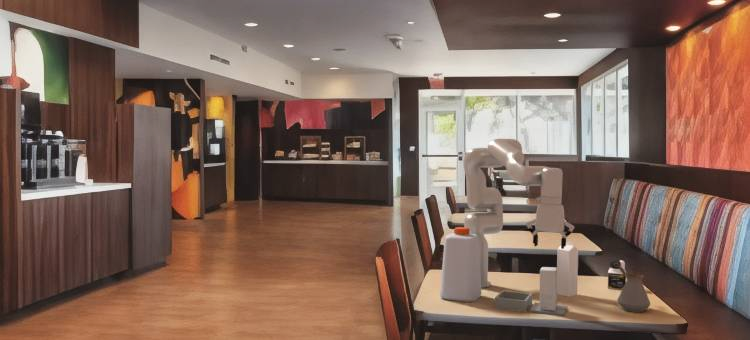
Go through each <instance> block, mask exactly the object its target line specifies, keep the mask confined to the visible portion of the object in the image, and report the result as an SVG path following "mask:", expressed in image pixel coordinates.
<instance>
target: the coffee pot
mask: <svg viewBox="0 0 750 340" xmlns="http://www.w3.org/2000/svg"><path fill="white" fill-rule="evenodd" d="M615 264H617V265H618V266H615V267H619V269H620V271H621V272H622V273H623V274H624V276H625V277H626V283H625V285H624V287H623V289H622V290H620V291H621V292H619V293H620V294H619V295H618V297H617V304H618V305H619V306H620V307H621V308H622V310H625V311H628V312H635V313H641V312H646V310H647V309H648V308H649V307H650V306H651V301H650V298H649V297H648V294H647V292H646V289H645V287H644V285H643V284H644V283H643V282H642V281H643V279H644V277H645V276H644V275H643V274H636V273H627V272H626V273H625V271H626V270H624V269H623V268H622V267H621V265H620V264H619V263H618V262H616V263H615ZM615 264H614V265H615Z"/></svg>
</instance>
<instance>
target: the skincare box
mask: <svg viewBox="0 0 750 340" xmlns="http://www.w3.org/2000/svg"><path fill="white" fill-rule="evenodd" d="M539 303H540V309H541V310H550V311H556V307H557V305H558V294H557V267H555V266H554V267H553V266H551V267H550V266H542V267H541V268H540V270H539Z"/></svg>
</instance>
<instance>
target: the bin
mask: <svg viewBox="0 0 750 340" xmlns="http://www.w3.org/2000/svg"><path fill="white" fill-rule="evenodd" d="M532 306H533V293H530V292H529V293H528V292H522V291H521V292H520V291H512V290H504V289H503V290H501V291H500V292H499V293H498V294H496V296H494V309H499V310H506V311H507V310H508V311H513V312H515V311H516V312H523V313H524V312H525V313H526V312H527V311H528V310H529V309H530V308H531V307H532Z"/></svg>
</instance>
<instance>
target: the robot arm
mask: <svg viewBox="0 0 750 340" xmlns="http://www.w3.org/2000/svg"><path fill="white" fill-rule="evenodd" d="M524 161H525V155H524V153H523V146H522V144H521V142H520V141H519V140H517V139H516V138H515V139H514V138H495V139H492V140H491V141H489V143H488V145H487V147H475V148H471V149H469V150H467V151H466V152H465V154H464V157H463V163H462V164H463V168H464V169H463V170H464V173H465V179H466V183H465V184H466V186H465V187H466V189H465V190H466V202H467V207H468V208H469V209H471V210H476V211H477V210H486V212H485V211H484V212H473V213H470V214H467V216H466V217H465V218H464V221H463V225H464V226H463V227H466V228H469V229H470V231H469V234H475V235H477V236H478V238H479V256H480V275H481V289H484V288H489V287H491V286H492V282H491V281H489V279H488V276H489V273H488V272H489V271H488V270H489V243H488V240H487V239H486V237H485V235H491V234H492V235H493V234H498V233H500V232H501V231H502V230H503V226H504V209H503V208H504V206H503V204H504V203H503V196H502V194H501V191H499V190H498V188H496V187H487V178H486V175H485V173H484V171H483V170H482V169H481V168H484V169H485V168H496V169H497V168H503V167H505V169H506V173H507V175H508V177H509V178H510V179H511V180H512V181H514V182H515V183H516V184H518V185H519V186H523V187H540V195H539V196H538V197H536V201H537V202H539V204H537V207H536V215H535V219H533V220H530V221H528V222H525V223H526V224H525V225H526V228H527V229H528V231H529V233H531V235H532V244H534V245H533V246H534V247H537V246H538V245H539V244H538V243H539V235H538V233H539V232H543V233H554V234H555V233H556V234H560V235H561V240H560V241H561V242H560V243H561V244H560V246H561V248H562V249H563V248H564V246H566V241H567V237H569V236H570V235H571V234H572V232H573V231H574V229H575V226H574V225H573V224H571V223H570V222H567V221H566V220H565V209H564V205H563V204H562V197H563V195H562V194H563V170H562V168H557V167H549V166H546V165H545V166H543V165H527V166H526V165H524V164H523V163H524ZM533 224H534V225H535V226H534V227H535V229H534V228H533V226H532V225H533ZM565 226H566V227H567V228H569V229H568V230H567V232H566V231H565Z"/></svg>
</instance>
